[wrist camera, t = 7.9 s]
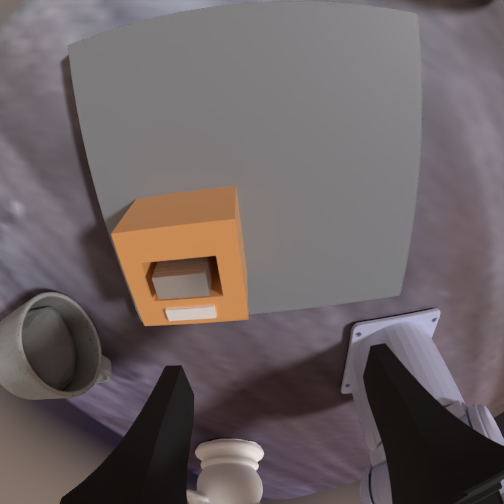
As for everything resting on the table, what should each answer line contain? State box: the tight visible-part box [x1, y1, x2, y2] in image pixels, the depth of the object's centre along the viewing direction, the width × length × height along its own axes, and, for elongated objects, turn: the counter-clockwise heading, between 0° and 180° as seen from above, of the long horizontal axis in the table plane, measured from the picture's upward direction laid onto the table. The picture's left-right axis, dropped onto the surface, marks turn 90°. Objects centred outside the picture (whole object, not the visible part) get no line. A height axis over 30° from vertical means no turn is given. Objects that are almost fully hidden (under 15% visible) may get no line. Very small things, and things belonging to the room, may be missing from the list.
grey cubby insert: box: [152, 256, 215, 299], centre depth 16 cm, size 1×2×4 cm, turn 95°
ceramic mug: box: [0, 292, 112, 400], centre depth 20 cm, size 11×8×8 cm
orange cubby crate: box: [111, 186, 249, 326], centre depth 16 cm, size 5×5×4 cm
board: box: [68, 1, 422, 322], centre depth 16 cm, size 18×18×1 cm
